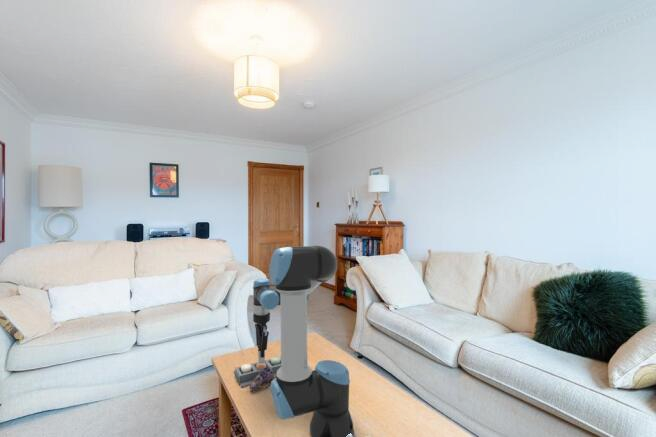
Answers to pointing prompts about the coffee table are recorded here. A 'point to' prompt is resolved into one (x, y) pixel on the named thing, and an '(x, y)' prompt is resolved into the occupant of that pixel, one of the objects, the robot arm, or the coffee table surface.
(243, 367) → the button cream
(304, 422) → the coffee table surface
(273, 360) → the button sage
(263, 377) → the purple lumpy piece
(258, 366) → the button terracotta
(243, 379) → the button panel
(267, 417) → the coffee table surface
